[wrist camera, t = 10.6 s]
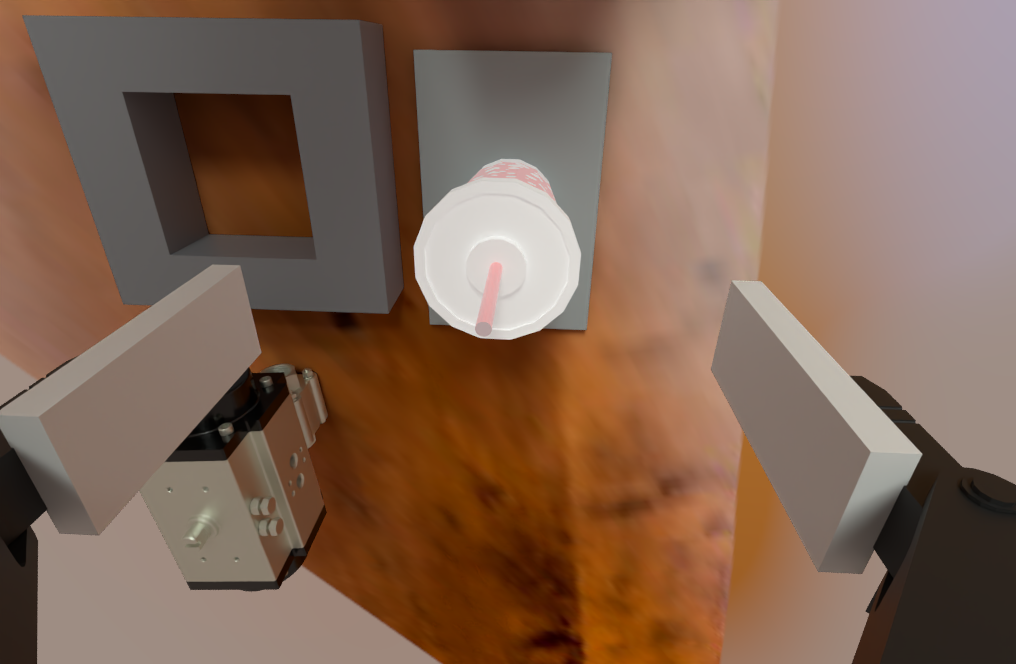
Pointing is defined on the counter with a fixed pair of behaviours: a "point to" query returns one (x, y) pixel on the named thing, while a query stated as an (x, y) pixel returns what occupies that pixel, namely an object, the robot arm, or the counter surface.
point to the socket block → (167, 168)
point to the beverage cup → (498, 253)
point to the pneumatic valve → (244, 484)
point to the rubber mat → (518, 133)
